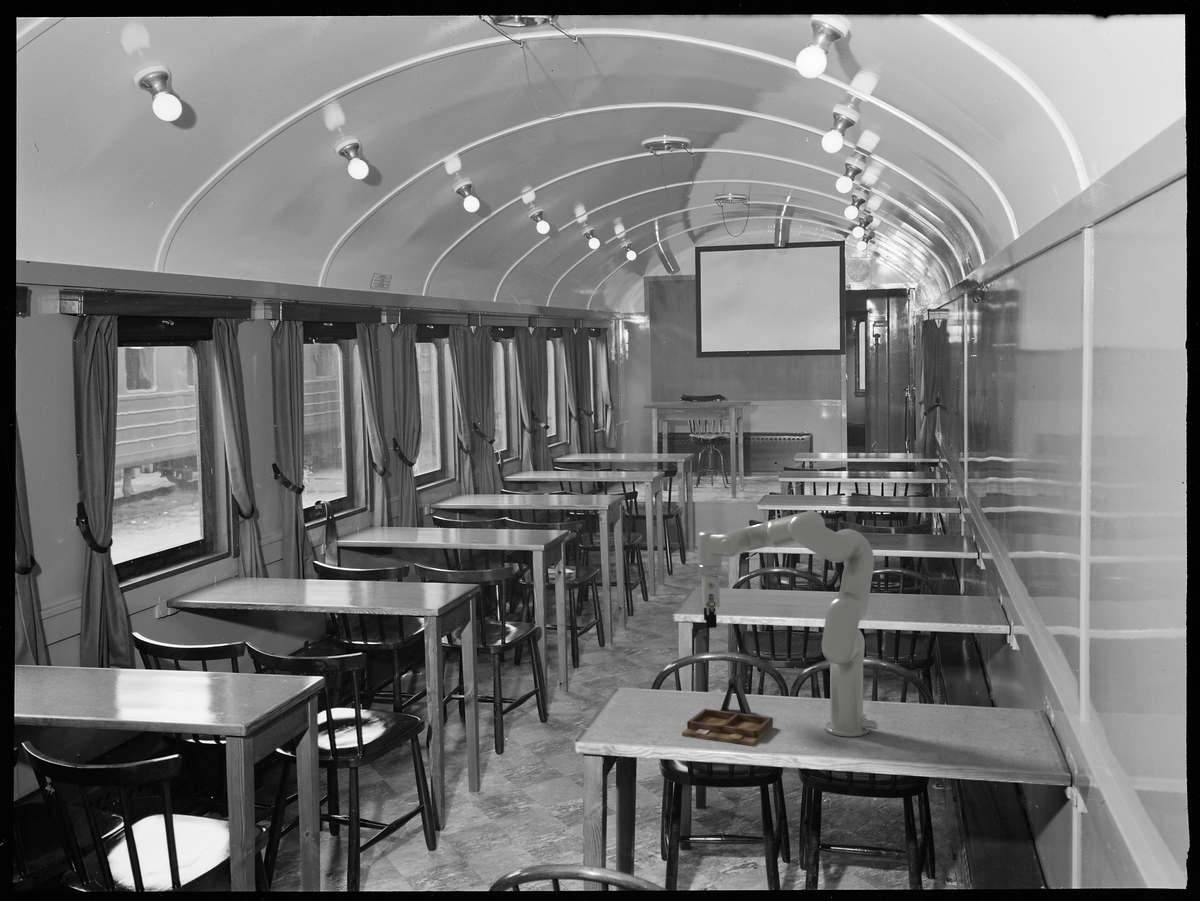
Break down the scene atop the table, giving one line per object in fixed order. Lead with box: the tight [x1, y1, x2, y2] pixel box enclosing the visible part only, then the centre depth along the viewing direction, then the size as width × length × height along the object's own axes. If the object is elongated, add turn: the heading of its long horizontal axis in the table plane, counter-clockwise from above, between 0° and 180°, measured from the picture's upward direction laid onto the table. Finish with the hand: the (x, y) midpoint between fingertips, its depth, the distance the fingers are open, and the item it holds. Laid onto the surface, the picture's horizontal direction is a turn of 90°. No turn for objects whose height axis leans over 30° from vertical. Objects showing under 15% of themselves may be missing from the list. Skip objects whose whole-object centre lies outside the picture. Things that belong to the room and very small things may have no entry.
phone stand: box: [719, 673, 751, 715], centre depth 336 cm, size 9×6×12 cm, turn 72°
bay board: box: [681, 708, 774, 747], centre depth 319 cm, size 22×18×3 cm
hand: (710, 623), depth 337 cm, fingers open, 9 cm apart
